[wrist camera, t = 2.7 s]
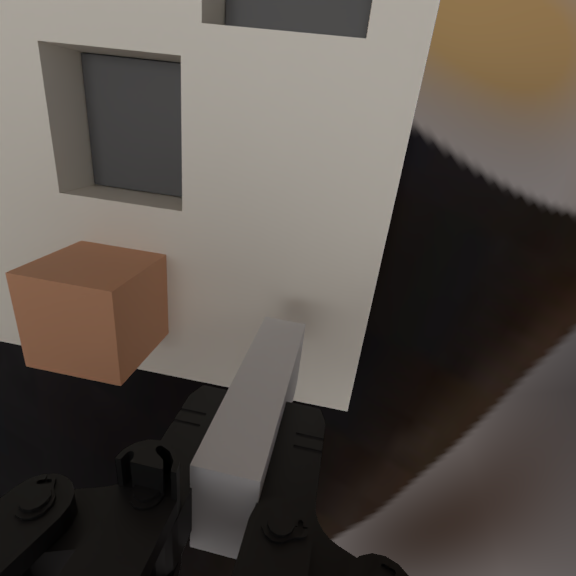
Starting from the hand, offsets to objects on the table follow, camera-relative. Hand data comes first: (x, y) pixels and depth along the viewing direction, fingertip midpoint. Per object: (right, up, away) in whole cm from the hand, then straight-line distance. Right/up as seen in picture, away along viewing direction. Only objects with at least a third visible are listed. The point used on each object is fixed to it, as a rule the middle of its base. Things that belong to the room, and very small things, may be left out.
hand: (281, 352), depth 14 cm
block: (-7, +2, +3) cm, 8 cm away
